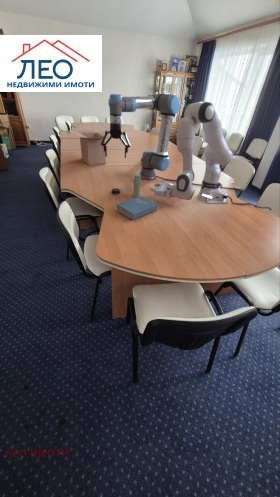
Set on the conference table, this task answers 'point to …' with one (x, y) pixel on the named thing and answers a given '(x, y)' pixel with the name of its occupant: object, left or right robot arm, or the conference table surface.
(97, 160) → the box
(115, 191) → the lid
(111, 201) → the conference table surface
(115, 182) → the conference table surface
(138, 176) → the jar
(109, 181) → the conference table surface
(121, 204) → the book
